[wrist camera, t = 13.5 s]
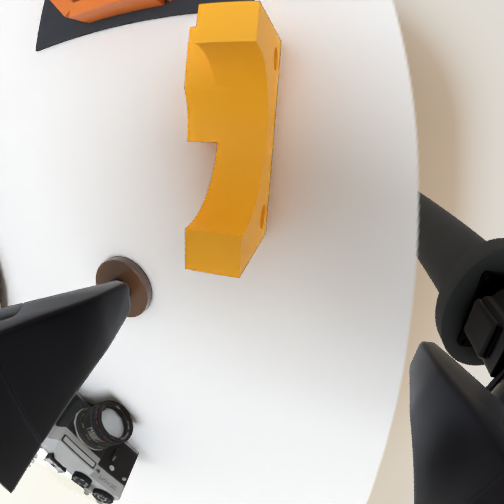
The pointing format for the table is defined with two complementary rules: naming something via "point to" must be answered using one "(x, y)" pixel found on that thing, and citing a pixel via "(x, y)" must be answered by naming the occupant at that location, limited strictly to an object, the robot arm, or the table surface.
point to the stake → (127, 281)
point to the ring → (101, 8)
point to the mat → (105, 20)
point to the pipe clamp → (232, 130)
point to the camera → (93, 447)
